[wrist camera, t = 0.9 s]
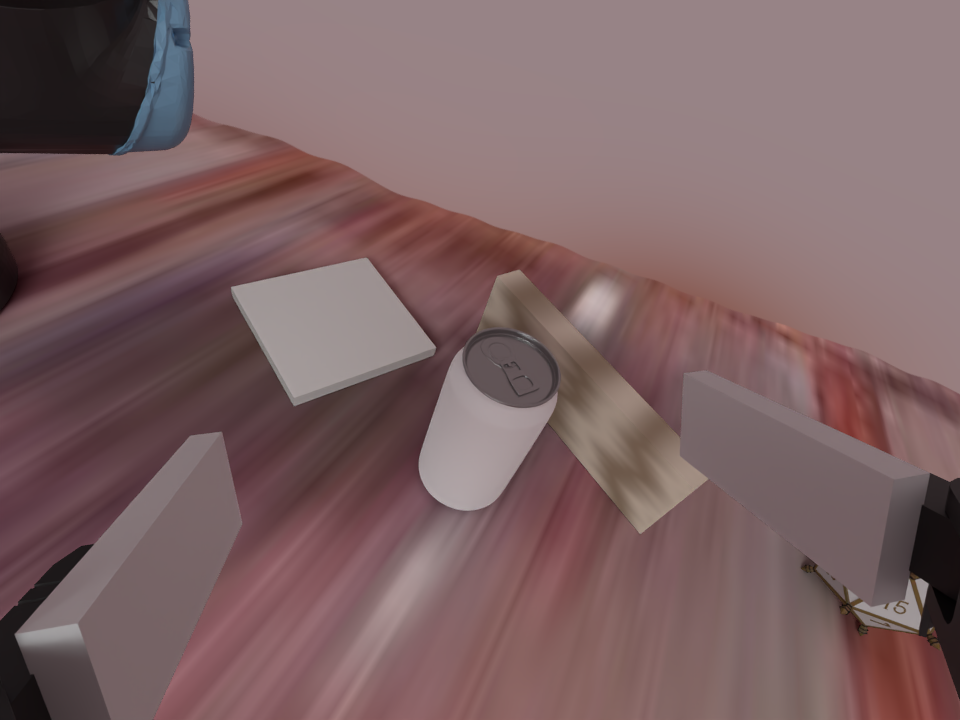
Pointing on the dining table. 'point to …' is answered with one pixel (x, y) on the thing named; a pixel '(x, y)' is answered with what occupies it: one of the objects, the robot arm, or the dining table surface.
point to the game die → (883, 607)
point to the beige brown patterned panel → (599, 410)
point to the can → (488, 416)
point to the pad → (330, 327)
